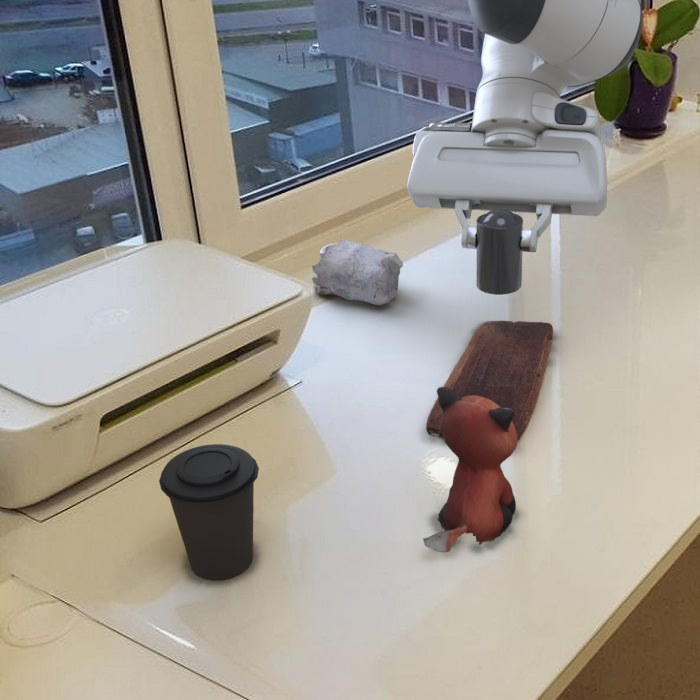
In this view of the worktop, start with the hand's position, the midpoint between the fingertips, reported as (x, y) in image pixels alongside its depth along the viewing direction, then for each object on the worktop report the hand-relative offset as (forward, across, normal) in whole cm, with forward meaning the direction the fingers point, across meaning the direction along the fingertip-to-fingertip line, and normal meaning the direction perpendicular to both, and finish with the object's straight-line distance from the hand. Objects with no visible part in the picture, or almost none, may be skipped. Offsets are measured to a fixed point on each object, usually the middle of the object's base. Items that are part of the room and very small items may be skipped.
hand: (498, 248), depth 107 cm
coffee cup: (+35, -18, -13) cm, 42 cm away
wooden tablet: (+11, 0, +12) cm, 16 cm away
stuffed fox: (+29, +1, -7) cm, 30 cm away
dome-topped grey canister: (+3, 0, +4) cm, 4 cm away
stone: (-2, -21, +25) cm, 32 cm away
